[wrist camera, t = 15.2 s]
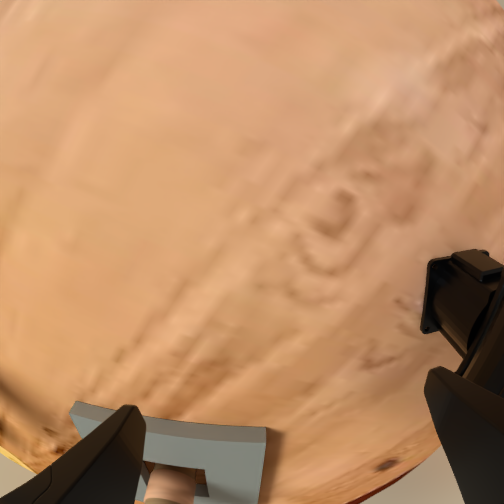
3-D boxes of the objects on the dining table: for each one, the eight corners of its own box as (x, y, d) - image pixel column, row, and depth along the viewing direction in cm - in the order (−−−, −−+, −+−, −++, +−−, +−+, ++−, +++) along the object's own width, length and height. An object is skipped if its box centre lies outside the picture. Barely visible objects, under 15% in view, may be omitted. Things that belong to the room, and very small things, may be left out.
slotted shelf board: (265, 427, 26) (266, 442, 24) (255, 503, 32) (255, 514, 30) (76, 400, 26) (68, 412, 24) (121, 485, 32) (118, 495, 30)
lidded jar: (207, 471, 29) (198, 541, 19) (179, 480, 30) (168, 543, 20) (171, 451, 28) (154, 525, 18) (145, 462, 29) (127, 527, 19)
